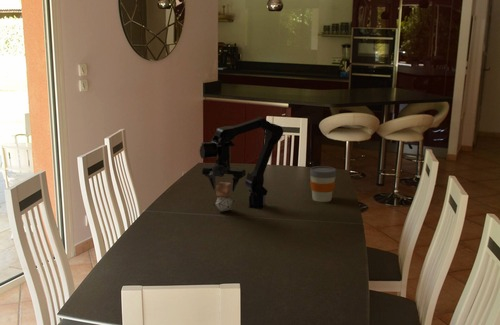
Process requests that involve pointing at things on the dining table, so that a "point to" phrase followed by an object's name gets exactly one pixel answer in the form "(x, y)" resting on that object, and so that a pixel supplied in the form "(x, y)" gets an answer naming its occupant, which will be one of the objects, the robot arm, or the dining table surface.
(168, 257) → the dining table surface
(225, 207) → the game die
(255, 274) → the dining table surface
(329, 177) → the reusable coffee cup
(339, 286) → the dining table surface
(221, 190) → the terracotta block
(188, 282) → the dining table surface
